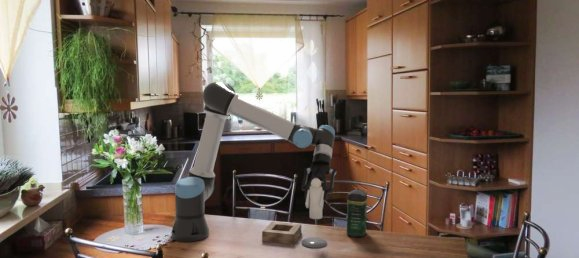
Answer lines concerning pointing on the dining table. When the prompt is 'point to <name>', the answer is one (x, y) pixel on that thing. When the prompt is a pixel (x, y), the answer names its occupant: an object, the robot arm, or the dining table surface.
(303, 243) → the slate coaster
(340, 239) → the dining table surface
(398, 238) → the dining table surface
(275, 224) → the walnut holder
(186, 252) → the dining table surface
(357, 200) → the coffee jar
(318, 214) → the pepper mill
